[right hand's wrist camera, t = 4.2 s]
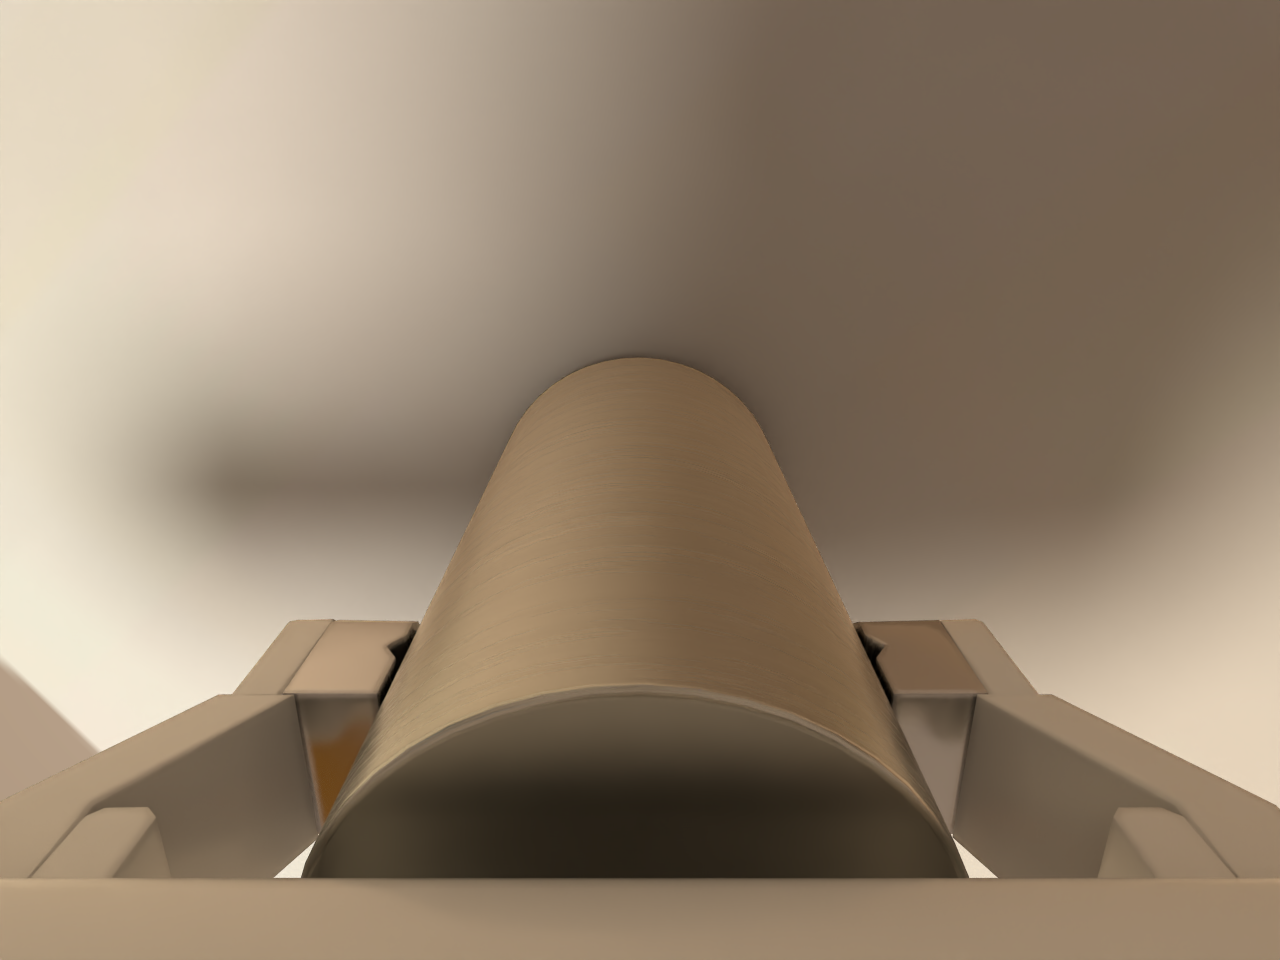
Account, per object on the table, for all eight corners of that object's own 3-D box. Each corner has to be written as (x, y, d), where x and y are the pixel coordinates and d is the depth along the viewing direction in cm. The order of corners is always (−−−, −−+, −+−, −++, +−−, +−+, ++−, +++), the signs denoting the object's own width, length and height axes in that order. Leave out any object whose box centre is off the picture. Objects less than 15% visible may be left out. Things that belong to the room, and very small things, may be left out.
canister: (488, 592, 17) (284, 1162, 7) (515, 335, 15) (291, 637, 5) (744, 628, 17) (878, 1222, 7) (802, 380, 15) (1081, 743, 6)
